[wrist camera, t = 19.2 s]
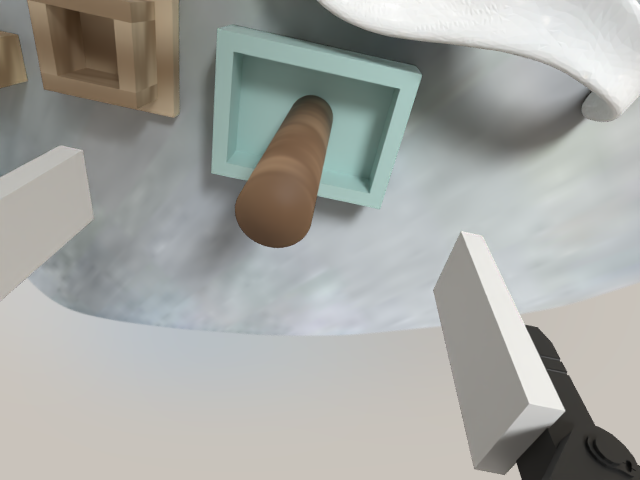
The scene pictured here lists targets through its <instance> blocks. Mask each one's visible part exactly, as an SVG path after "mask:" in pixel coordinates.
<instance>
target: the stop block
mask: <svg viewBox="0 0 640 480" xmlns="http://www.w3.org/2000/svg"><path fill="white" fill-rule="evenodd" d="M26 81H28V80H27V75H26V70H25V65H24V61H23V56H22V51H21V46H20V41H19V37H18V35H17V34H12V33H8V32H3V31H0V88H3V87H7V86H11V85H15V84H18V83H22V82H26Z"/></svg>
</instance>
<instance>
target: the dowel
mask: <svg viewBox="0 0 640 480" xmlns="http://www.w3.org/2000/svg"><path fill="white" fill-rule="evenodd" d="M332 123H333V113H332V109H331V107H330V105H329V104H328V103H327V102H326V101H325V100H324V99H322V98H321V97H319V96H315V95H306V96H303V97H301V98H299V99H298V100H297V101H296V102H295V103H294V104H293V106H292V107H291V109H290V111H289V112H288V114H287V116H286V117H285V119H284V121H283V122H282V124H281V126H280V127H279V129H278V131H277V132H276V134H275V136H274V137H273V139H272V141H271V142H270V144H269V146H268V147H267V149H266V151H265V152H264V154H263V156H262V157H261V159H260V161H259V162H258V164H257V166H256V167H255V169H254V171H253V172H252V174H251V176H250V177H249V179H248V181H247V182H246V184H245V186H244V187H243V189H242V191H241V192H240V194H239V196H238V198H237V200H236V204H235V216H236V219H237V222H238V224H239V226H240V228H241V229H242V231H243V232H244V233H245V234H246V235H247V236H248V237H249V238H250V239H252V240H253V241H255V242H257V243H259V244H261V245H264V246H267V247H273V248H283V247H288V246H291V245H294V244H296V243H297V242H299V241H300V240H302V239H303V238H304V237H305V235H306V234H307V233H308V231H309V229H310V226H311V222H312V218H313V213H314V208H315V203H316V199H317V194H318V189H319V185H320V180H321V175H322V170H323V166H324V161H325V156H326V152H327V147H328V142H329V137H330V133H331V128H332Z"/></svg>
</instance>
